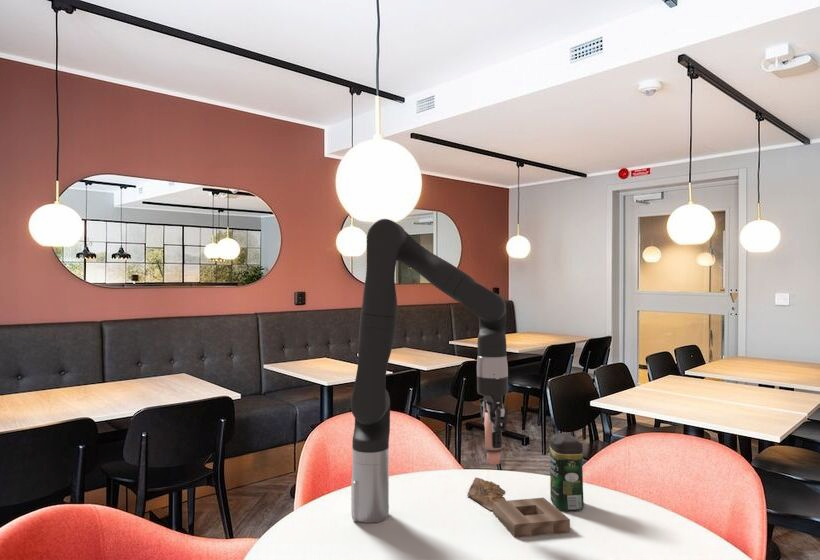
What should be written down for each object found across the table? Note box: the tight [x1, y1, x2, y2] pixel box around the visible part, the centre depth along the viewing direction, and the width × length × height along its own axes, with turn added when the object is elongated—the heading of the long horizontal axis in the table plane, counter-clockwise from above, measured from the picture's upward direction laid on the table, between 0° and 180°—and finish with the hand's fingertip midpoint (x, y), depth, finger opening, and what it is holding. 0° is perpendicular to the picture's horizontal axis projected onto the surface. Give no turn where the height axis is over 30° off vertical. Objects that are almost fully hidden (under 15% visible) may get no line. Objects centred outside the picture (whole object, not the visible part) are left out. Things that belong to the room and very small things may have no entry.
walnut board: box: [492, 497, 571, 538], centre depth 134 cm, size 14×14×3 cm
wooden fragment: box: [466, 477, 506, 513], centre depth 154 cm, size 26×11×1 cm, turn 179°
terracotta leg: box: [484, 412, 503, 465], centre depth 132 cm, size 4×4×12 cm
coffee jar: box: [549, 432, 584, 512], centre depth 145 cm, size 10×8×19 cm
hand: (493, 444), depth 132 cm, fingers closed on terracotta leg, 4 cm apart
